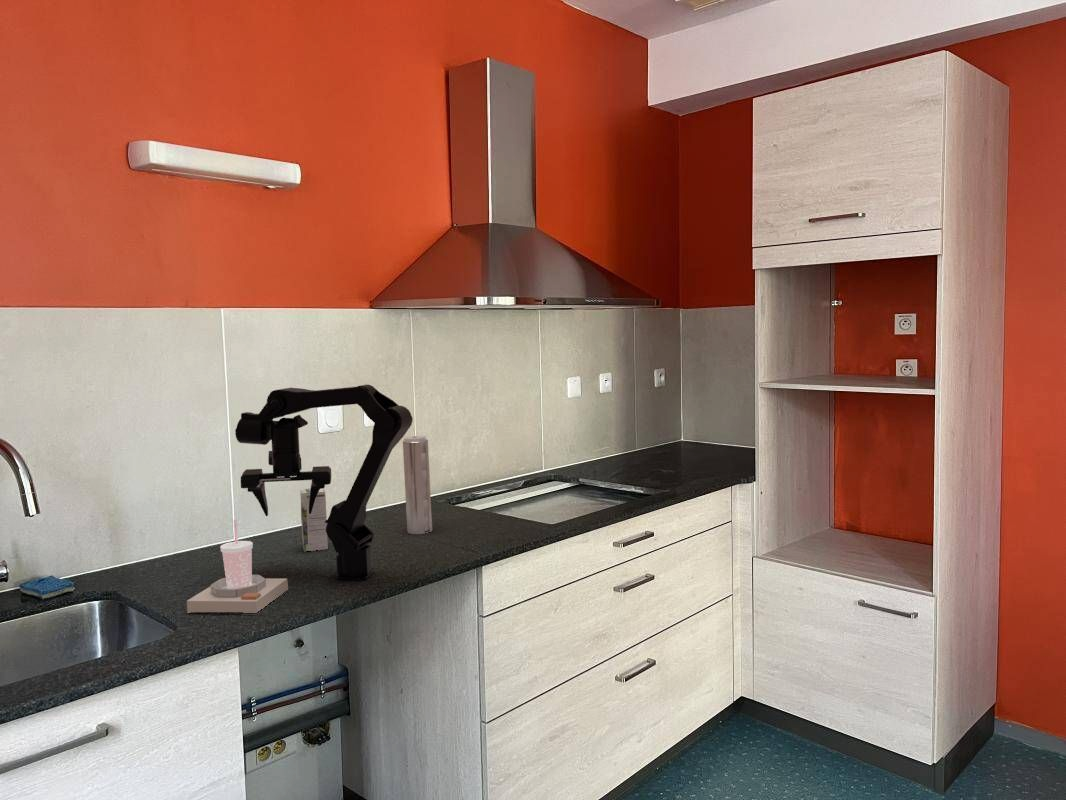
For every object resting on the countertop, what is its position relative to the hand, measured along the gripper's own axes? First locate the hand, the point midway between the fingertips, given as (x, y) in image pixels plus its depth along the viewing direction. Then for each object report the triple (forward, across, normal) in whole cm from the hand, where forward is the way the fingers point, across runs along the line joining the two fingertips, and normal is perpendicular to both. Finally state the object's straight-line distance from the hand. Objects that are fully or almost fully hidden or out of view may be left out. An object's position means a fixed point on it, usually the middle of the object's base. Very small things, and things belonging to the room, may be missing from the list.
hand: (288, 514), depth 181 cm
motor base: (+11, +8, +20) cm, 24 cm away
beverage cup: (+9, +8, +19) cm, 23 cm away
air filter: (+15, -30, -25) cm, 42 cm away
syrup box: (+15, -4, -17) cm, 23 cm away
